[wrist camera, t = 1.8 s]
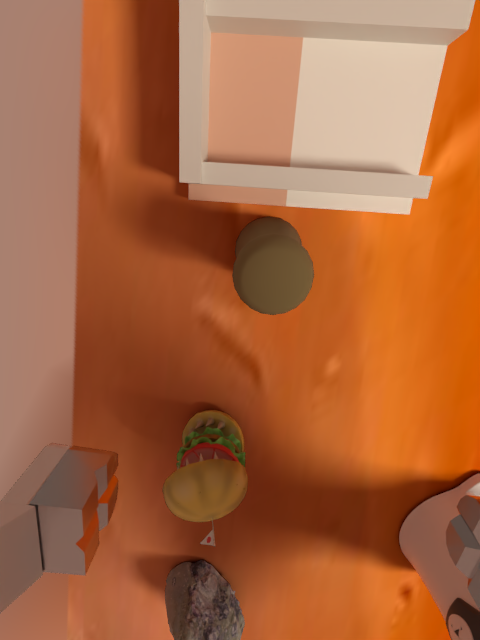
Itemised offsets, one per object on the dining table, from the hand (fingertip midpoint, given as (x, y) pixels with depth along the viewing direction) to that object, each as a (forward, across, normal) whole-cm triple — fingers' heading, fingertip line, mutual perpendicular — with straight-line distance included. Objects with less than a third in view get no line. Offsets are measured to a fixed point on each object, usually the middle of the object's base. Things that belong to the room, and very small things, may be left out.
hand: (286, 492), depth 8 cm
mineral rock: (+25, +1, +46) cm, 52 cm away
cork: (+25, 0, -2) cm, 25 cm away
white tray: (+25, -2, -13) cm, 28 cm away
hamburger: (+25, +2, +18) cm, 31 cm away
